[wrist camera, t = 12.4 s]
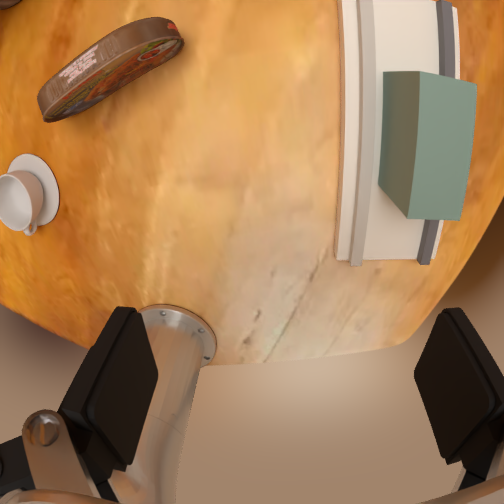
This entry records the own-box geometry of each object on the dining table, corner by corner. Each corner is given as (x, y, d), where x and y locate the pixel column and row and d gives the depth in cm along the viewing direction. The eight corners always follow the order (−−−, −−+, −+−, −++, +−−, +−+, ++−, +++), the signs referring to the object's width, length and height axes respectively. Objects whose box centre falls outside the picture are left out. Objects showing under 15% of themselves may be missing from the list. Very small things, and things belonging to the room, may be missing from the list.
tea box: (431, 79, 23) (477, 84, 16) (422, 186, 28) (460, 220, 22) (382, 71, 23) (419, 71, 16) (377, 184, 29) (407, 218, 22)
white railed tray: (428, 250, 34) (438, 264, 31) (333, 250, 35) (338, 266, 32) (447, 10, 20) (462, 6, 17) (336, -11, 21) (343, -20, 18)
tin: (76, 117, 29) (28, 134, 22) (66, 94, 27) (16, 106, 20) (195, 47, 25) (168, 37, 18) (183, 21, 24) (152, 4, 16)
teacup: (1, 162, 32) (-22, 174, 28) (49, 144, 30) (24, 154, 26) (22, 228, 37) (2, 244, 32) (70, 219, 35) (50, 236, 31)
